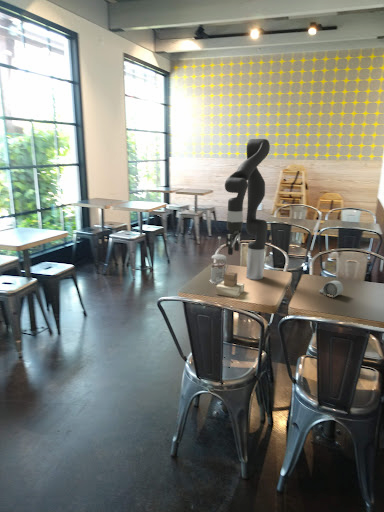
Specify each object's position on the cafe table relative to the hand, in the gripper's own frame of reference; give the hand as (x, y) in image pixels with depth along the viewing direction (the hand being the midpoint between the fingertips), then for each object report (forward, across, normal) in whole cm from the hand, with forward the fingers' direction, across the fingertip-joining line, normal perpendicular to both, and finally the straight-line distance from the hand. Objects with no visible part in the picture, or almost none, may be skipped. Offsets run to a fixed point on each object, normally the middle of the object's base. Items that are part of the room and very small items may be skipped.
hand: (233, 252), depth 187 cm
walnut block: (+16, +1, -1) cm, 17 cm away
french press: (+21, -13, -13) cm, 28 cm away
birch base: (+20, +1, -1) cm, 21 cm away
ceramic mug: (+21, -21, +44) cm, 53 cm away
